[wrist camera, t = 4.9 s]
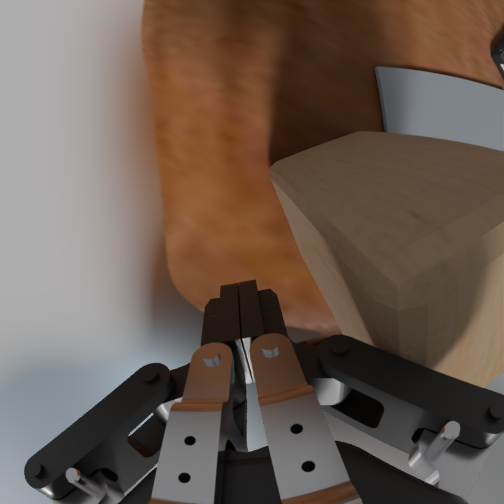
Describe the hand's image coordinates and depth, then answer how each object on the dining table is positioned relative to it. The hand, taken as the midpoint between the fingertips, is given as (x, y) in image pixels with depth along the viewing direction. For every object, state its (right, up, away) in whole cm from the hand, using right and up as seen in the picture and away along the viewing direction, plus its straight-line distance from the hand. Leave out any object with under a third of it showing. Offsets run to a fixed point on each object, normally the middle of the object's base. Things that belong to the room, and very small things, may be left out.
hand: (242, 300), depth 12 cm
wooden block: (+8, +7, +13) cm, 17 cm away
